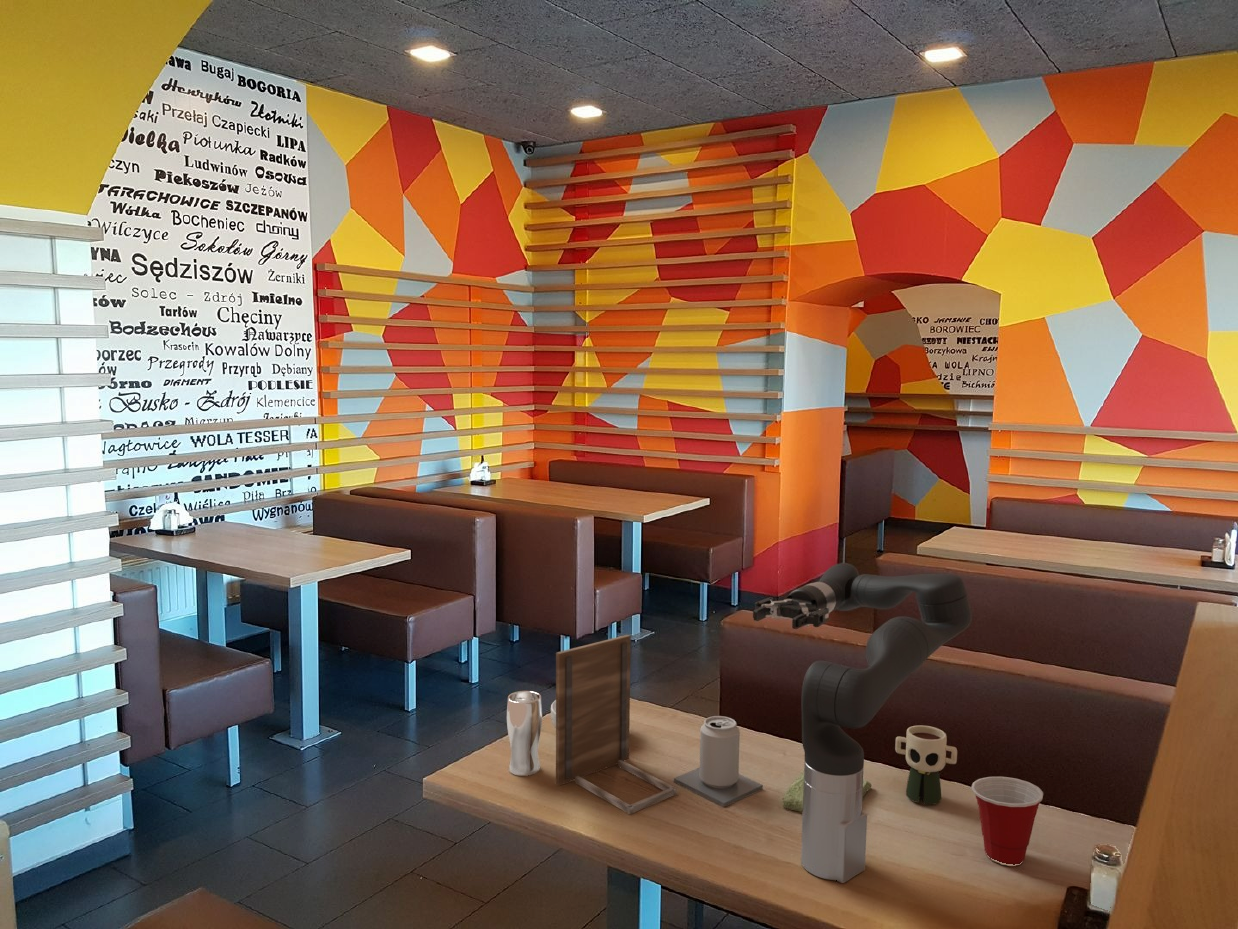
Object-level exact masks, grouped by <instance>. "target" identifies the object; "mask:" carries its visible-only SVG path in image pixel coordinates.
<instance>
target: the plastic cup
mask: <svg viewBox="0 0 1238 929" xmlns="http://www.w3.org/2000/svg"><path fill="white" fill-rule="evenodd" d="M971 791H972V792H973V794H974V795H975V799H976V803H977V805H978V812H979V819H980V820H979V821H980V826H981V832H982V838H983V848H984V851H985V854H986V853H987V855H988V856H989V857H990V858H992V859H994V860H997V861H999V862H1002V863H1006V864H1013V865H1015V864H1020V863H1021V862H1022V861H1023V862H1024V861H1025V858H1026V854H1027V850H1028V846H1029V844H1030V841H1031V840H1030V839H1031V836H1032V832H1033V828H1034V825H1035V824H1034V823H1035V819H1036V816H1037V812H1038V809H1039V805H1040V803H1041V802H1042V801H1043V796H1044V791H1042V789H1041V788H1040V787H1039V786H1037V785H1035V784H1033V783H1031V782H1029V781H1026V780H1022V779H1019V778H1016V777H1015V778H1014V777H1007V776H987V777H982V778H978V779H976V780H975V781H974V782H972V784H971ZM987 855H986V856H987Z"/></svg>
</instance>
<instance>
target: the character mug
mask: <svg viewBox="0 0 1238 929" xmlns="http://www.w3.org/2000/svg"><path fill="white" fill-rule="evenodd" d="M947 738H948V737H947V733H946V732H944V731H943V730H941V729H940V728H938V727H934V726H930V725H913V726H909V727H908V728H907V729H906V737H905V736H896V737H895V747H894V749H895V752H896V753H897V754H899V755H905V760H906V763H907V764H908V766H910V767H911V768H910V769H909V774H908V777H907V778H908V779H907V783H906V789H905V792H906V793H905V794H906V797H907V798H908V799H909V800H911V801H913V802H915V803H919V802H920V801H919V800H920V799H921V800H923V805H935V804H939V803H940V802H941V800H942V786H941V780H940V777H941V776H940V772H939V771H942V770H943V769H944V768H945V766H946V764H950V765H956V764H957V761H958V750H957V747H955V746H951V745H947V742H948V740H947ZM902 743H905V748H904V749H903V748H902ZM947 751H948V752H951V754H950V757H947V756H946V755H947Z"/></svg>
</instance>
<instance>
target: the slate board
mask: <svg viewBox="0 0 1238 929" xmlns="http://www.w3.org/2000/svg"><path fill="white" fill-rule="evenodd" d="M699 774H700V766H699V767H698V768H695V769H692V770H690V771H688V772H687V771H686V772H685V773H682V774H680V775H677V776H676V777H673V783H674V784H677V785H679V786H681V787H683V788H684V789H687V790H689V791H691V792H692V793H695V794H696V795H699V796H700V797H703V798H704V799H707V801H708V800H709V801H710V802H712V803H715V804H716V805H719V806H720V807H723V808H725V807H727V806H730V805H731V804H734V803H735V802H738V801H740V800H742V799H744V798H746V797H749V796H751V795H753V794H755V793H757V792H759V791H761V790H763V789H764V786H763V784H761V783H759V782H757V781H755V780H753V779H751V778H748V777H747V776H744V775H741V774H740V773H739V778H738V781H737V782H736V783H734V784H733V785H732V786H731V787H728V788H713V787H710V786H708V785H706V784H705V783H704V782H703V781H702V780H701V779H700V775H699Z"/></svg>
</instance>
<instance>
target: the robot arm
mask: <svg viewBox="0 0 1238 929" xmlns="http://www.w3.org/2000/svg"><path fill="white" fill-rule="evenodd" d="M912 593H914V594H915V597H916V603H917V606H918V610H919V614H920V620H919V619H917V618H914V617H909V616H903V615H901V616H896V617H892V618H890V619H889V620H887V621H885V622H884V623H883V624H881V625H880V626H879V627H878V628H877V629H876V630H874V632H872V633H871V634H870V636H869V637H868V639H867V643H866V645H865V658H866V662H867V666H868V667H865V668H855V667H853V666H848V665H844V664H841V663H840V664H839V663H836V662H832V661H827V660H817V661H814V662H813V663H811V665H810V666H809V667H808V668H807V670H806V673H805V675H804V677H803V682H802V685H801V686H802V687H801V697H800V698H801V743H802V747H803V751H804V761H803V762H804V764H803V766H804V767H803V771H804V789H803V813H802V817H801V818H802V819H801V820H802V823H801V849H800V850H801V851H800V852H801V854H800V862H801V863H800V864H801V865H802V867H803V868H804V869H805V870H806V871H807V872H809V873H810V874H812V875H814V876H815V877H818V878H821V879H823V880H824V879H825V880H831V881H836V880H837V882H839V883H841V884H844V883H846V882H848V881H849V880H851V879H852V878H854V877H855V876H857V875H859V874H860V873H862V872H863V871H865V870H866V850H867V848H866V847H867V828H868V823H867V822H868V815H867V813H866V812H864V811H863V810H862V809H863V798H862V793H863V779H864V770H865V769H864V766H865V752H864V749H863V747H862V746H861V744H859V742H858V741H856V740H855V739H854V738H852V737H851V736H850V735H849V734H847V733H846V732H845V730H843V729H842V728H841V727H843V728H848V729H855V730H857V729H861V728H863V727H865V726H867V725H868V724H869V723H870V722H871V721H872V720H873V718H875V716H876V715H877V713H878V712H879V711H880V709H881V708H882V707H883V705H884V704H885V703H886V701H887V700H888V698H890V696H891V695H892V694H893V692H895V691H896V689H897V688H898V687H899V686H901V684H902V683H903V682H904V681H905V680H906V679H907V678H908V677H909V676H910V675H912V674H913V673H914V672H916V671H917V670H918V669H919V667H921V666H922V665H923V664H924V663H925V662H926V661H927V660H928V658H930V656H932V654H934V653H935V652H936V651H937V650H938V649H940V648H941V647H942V646H943V645H945V644H946V643H948V642H949V641H950V640H952V639H953V638H956V636H958V635H959V634H961V633H962V632H964V631H965V630H966V629H968V628H969V627H970V625H971V624H972V621H973V620H972V618H973V617H972V609H971V604H970V602H969V598H968V597H969V596H968V593H967V589H966V585H965V583H964V581H963V579H962V578H961V577H960V576H958V575H956V574H953V573H922V574H909V575H900V576H899V575H898V576H888V575H887V576H886V575H885V576H884V575H877V574H869V573H866V574H865V573H862V574H860V573H859V570H858V569H857V567H855V566H854V565H853V564H851V563H847V562H840V563H837V564H833V565H832V566H830V567H829V568H828V569H827V570H826V571H825V572H824V573H823V574H822V576H821V577H820V578H819V580H818V581H815V582H811V583H807V584H805V585H803V586H801V587H799V588H796V589H793V590H792V591H791V592H790V593H789V594H788V595H787V597H786V598H785V599H783V600H774V598H773V597H771V596H769V597H767V598H764V599H760V600H759V601H758V600H757V601H756V602H754V610H753V611H752V618H753V621H754V622H759V621H762V620H763V619H765V618H773V619H774V620H778V619H779V620H780V619H785V620H792V621H791V622H792V624H791V626H792V627H791V628H792V629H793V630H797V629H800V628H803V627H810V625H812V626H813V627H815V628H819V627H821V626H822V625H824V624H826V623H827V622H829V615H830V613H831V612H834V611H835V610H837V611H841V612H847V611H852V610H855V609H858V608H864V607H865V608H871V609H875V610H890V609H893V608H895V607H897V606H898V605H900V604H901V603H902V602H903V601H904V600H905V599H906V598H907V597H908V596H909V595H911V594H912ZM768 612H769V613H768ZM777 613H779V614H777Z"/></svg>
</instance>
